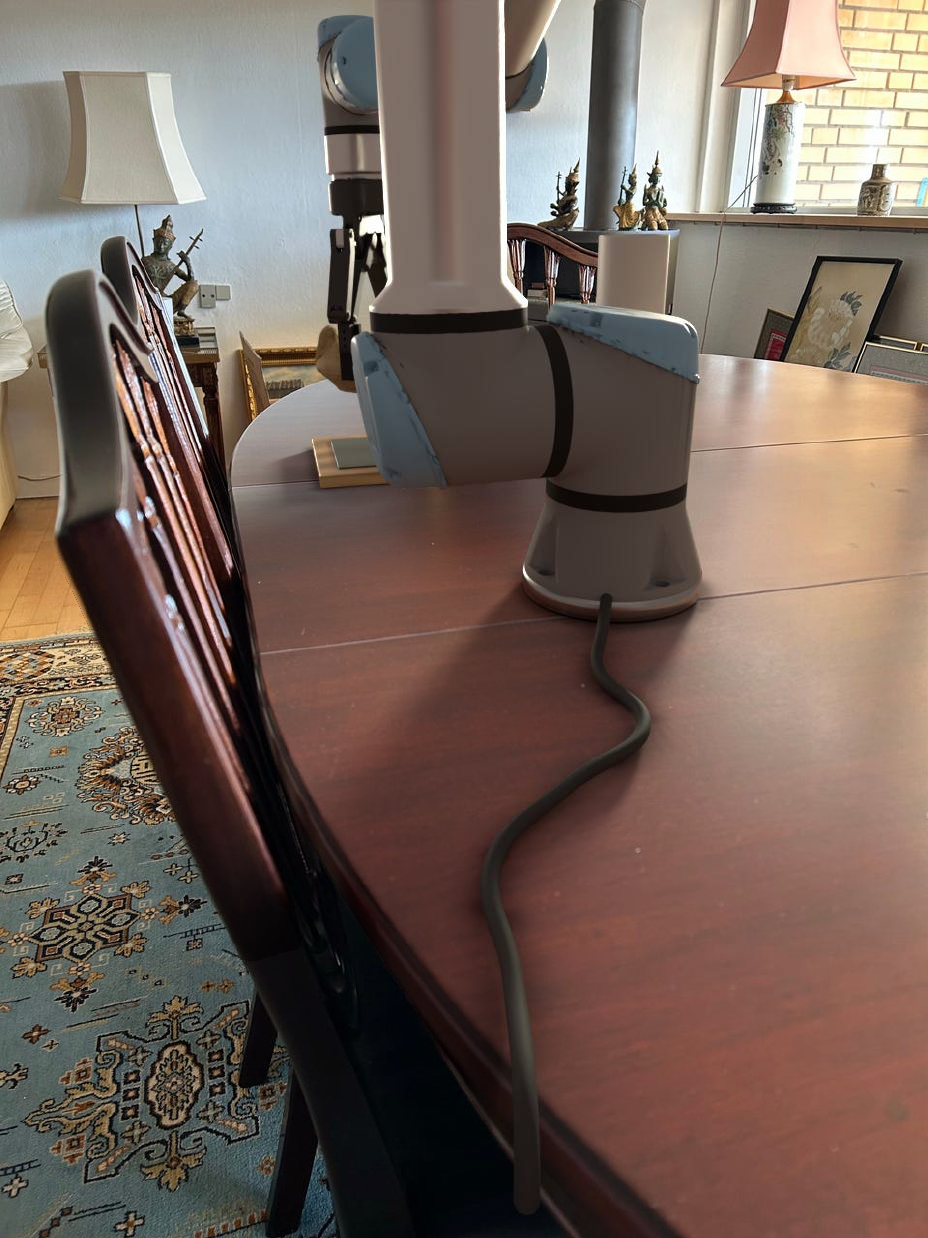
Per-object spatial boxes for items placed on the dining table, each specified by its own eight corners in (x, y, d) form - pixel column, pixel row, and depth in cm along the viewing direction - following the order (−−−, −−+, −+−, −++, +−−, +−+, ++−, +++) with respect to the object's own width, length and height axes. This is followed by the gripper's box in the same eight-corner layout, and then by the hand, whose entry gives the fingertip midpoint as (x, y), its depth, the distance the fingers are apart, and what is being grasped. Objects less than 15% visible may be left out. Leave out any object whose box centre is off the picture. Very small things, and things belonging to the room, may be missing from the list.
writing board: (451, 478, 110) (451, 465, 109) (320, 488, 107) (319, 474, 106) (425, 440, 128) (424, 429, 127) (312, 448, 125) (311, 436, 124)
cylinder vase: (582, 375, 173) (587, 235, 163) (640, 370, 177) (649, 233, 166) (611, 386, 162) (618, 237, 152) (672, 381, 166) (683, 234, 155)
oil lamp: (428, 399, 108) (425, 330, 105) (307, 400, 109) (300, 332, 106) (437, 381, 118) (435, 318, 115) (325, 383, 119) (320, 320, 116)
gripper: (348, 175, 92) (362, 390, 101) (424, 178, 112) (430, 358, 121) (283, 177, 94) (302, 388, 103) (369, 180, 114) (379, 356, 124)
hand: (372, 372), depth 112 cm, fingers closed on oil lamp, 11 cm apart
